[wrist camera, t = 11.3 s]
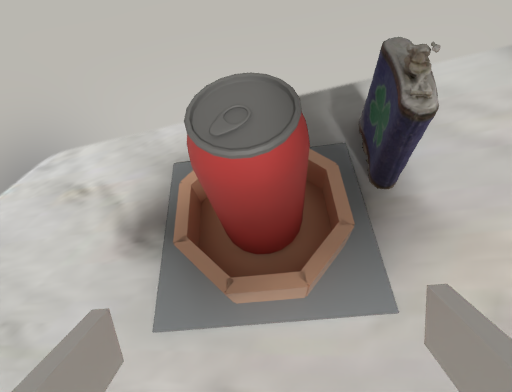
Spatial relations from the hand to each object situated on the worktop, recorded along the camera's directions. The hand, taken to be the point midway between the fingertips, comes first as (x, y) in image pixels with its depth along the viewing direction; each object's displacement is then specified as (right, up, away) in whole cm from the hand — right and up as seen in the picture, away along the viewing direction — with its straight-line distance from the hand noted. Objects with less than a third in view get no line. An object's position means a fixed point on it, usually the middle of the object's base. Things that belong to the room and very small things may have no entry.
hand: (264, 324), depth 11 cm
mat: (0, +3, +13) cm, 13 cm away
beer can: (0, +3, +12) cm, 12 cm away
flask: (+12, +10, +16) cm, 22 cm away
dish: (0, +3, +12) cm, 13 cm away
